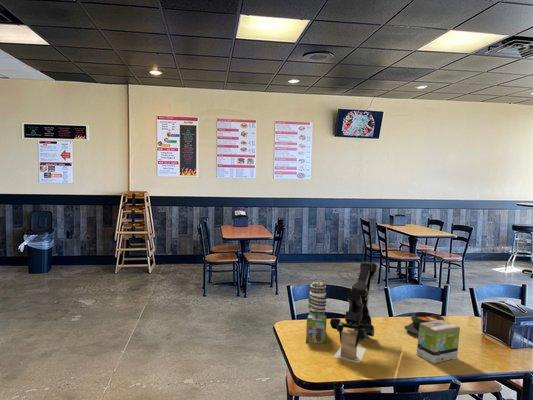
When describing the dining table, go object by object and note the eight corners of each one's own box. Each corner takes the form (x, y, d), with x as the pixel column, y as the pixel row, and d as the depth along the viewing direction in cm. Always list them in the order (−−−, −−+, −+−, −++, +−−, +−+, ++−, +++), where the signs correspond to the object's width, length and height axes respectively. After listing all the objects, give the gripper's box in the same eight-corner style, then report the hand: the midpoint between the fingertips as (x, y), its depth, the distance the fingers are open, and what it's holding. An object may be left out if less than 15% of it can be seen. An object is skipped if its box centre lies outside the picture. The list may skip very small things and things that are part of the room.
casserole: (433, 323, 221) (434, 309, 221) (460, 337, 204) (461, 320, 203) (396, 328, 212) (397, 312, 212) (421, 342, 195) (422, 325, 194)
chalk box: (325, 346, 185) (326, 314, 184) (305, 343, 187) (307, 312, 186) (326, 338, 194) (327, 308, 193) (307, 335, 196) (308, 306, 195)
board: (342, 345, 186) (342, 343, 186) (366, 350, 181) (366, 348, 181) (333, 359, 171) (333, 357, 171) (359, 365, 167) (359, 363, 167)
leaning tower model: (327, 334, 198) (330, 285, 197) (310, 335, 196) (312, 285, 195) (321, 327, 207) (323, 280, 206) (304, 328, 205) (306, 280, 204)
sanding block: (342, 352, 176) (343, 328, 175) (356, 355, 173) (357, 331, 172) (340, 356, 172) (341, 332, 171) (354, 359, 170) (355, 334, 169)
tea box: (434, 364, 171) (437, 330, 170) (416, 354, 180) (418, 322, 179) (458, 358, 178) (460, 326, 177) (439, 349, 187) (441, 318, 186)
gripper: (332, 299, 178) (324, 332, 169) (375, 307, 171) (368, 341, 161) (335, 311, 186) (328, 343, 177) (376, 319, 178) (371, 353, 169)
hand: (348, 345), depth 171 cm, fingers closed on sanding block, 6 cm apart
